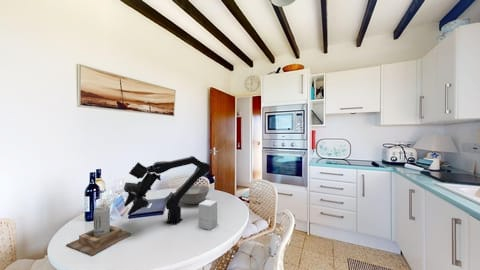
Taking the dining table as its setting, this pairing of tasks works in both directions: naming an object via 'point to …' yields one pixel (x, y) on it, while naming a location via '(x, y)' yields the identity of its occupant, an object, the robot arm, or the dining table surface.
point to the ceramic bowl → (195, 194)
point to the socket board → (94, 251)
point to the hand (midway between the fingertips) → (126, 210)
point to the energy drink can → (101, 220)
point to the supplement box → (207, 214)
